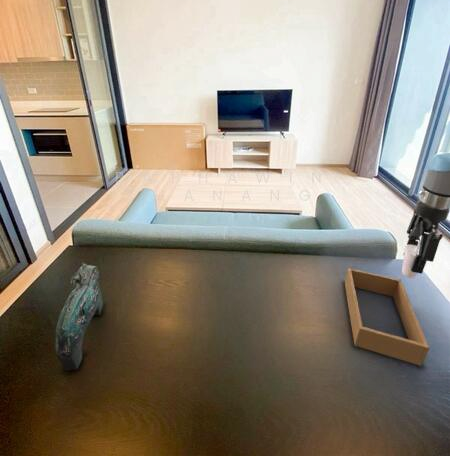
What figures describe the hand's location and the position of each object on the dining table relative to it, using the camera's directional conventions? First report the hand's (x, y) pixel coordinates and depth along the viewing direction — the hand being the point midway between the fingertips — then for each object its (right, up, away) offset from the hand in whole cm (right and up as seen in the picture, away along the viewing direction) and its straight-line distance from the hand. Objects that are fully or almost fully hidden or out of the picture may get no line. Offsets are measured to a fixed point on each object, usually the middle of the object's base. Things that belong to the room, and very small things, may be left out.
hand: (412, 263), depth 81 cm
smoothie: (0, -4, +2) cm, 5 cm away
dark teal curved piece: (-102, -15, -11) cm, 103 cm away
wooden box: (-16, -14, -6) cm, 22 cm away
